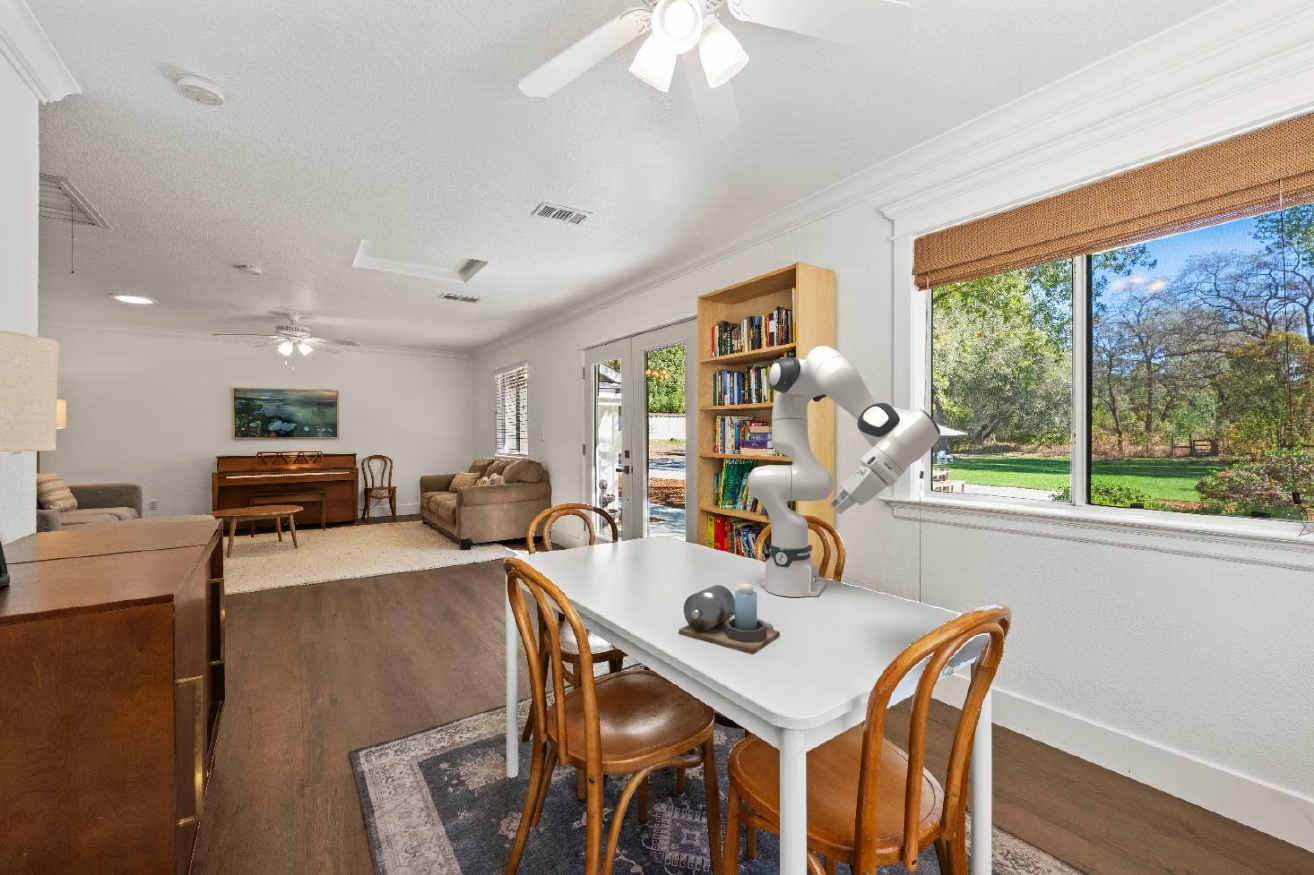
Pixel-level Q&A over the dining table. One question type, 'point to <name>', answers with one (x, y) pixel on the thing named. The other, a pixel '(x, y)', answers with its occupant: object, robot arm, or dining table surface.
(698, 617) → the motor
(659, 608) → the dining table surface
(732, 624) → the collar
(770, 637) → the base plate
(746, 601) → the blue plastic bottle
